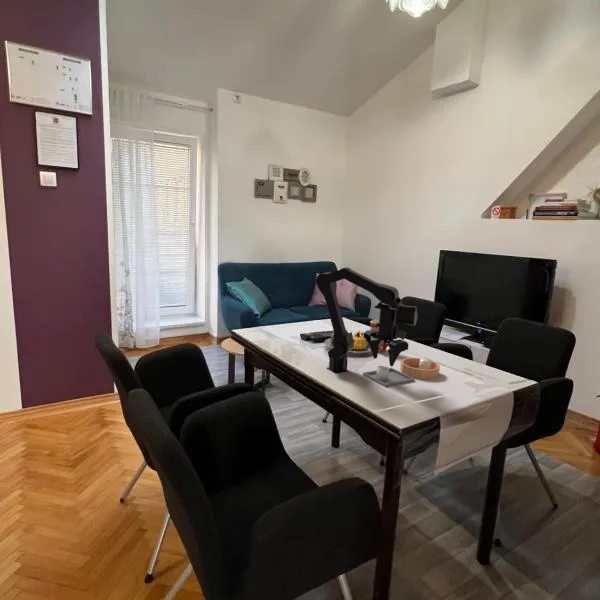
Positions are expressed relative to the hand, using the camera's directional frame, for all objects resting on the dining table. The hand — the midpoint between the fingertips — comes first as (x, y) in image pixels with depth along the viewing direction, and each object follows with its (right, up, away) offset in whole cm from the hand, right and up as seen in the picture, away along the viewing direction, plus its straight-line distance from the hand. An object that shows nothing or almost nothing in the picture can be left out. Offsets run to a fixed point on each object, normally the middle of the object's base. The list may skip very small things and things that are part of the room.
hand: (383, 362), depth 155 cm
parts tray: (+2, -7, +3) cm, 8 cm away
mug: (+6, -1, +38) cm, 38 cm away
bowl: (+16, -6, +11) cm, 20 cm away
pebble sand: (+19, -5, +12) cm, 23 cm away
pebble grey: (0, -6, +1) cm, 7 cm away
